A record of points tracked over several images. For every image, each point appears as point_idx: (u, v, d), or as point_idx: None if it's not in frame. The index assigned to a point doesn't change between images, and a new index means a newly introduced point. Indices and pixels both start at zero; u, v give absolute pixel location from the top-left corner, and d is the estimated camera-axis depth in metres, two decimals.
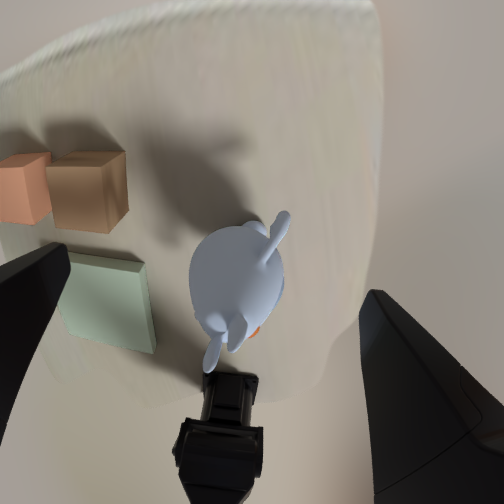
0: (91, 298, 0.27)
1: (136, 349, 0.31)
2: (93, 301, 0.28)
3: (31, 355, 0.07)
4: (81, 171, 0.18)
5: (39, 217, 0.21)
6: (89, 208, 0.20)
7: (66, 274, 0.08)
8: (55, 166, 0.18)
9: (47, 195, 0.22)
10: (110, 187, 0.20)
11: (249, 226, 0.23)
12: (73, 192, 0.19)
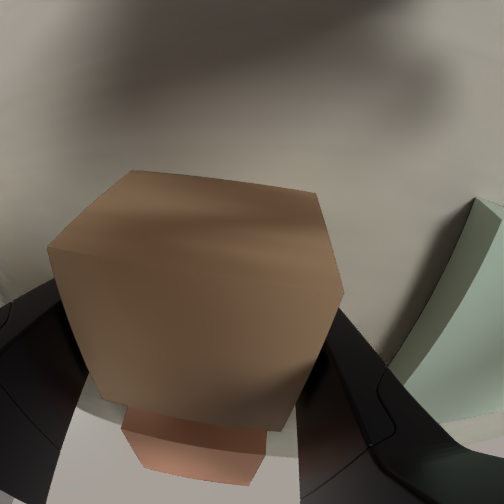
0: (491, 361, 0.09)
1: None
2: (499, 358, 0.09)
3: (86, 375, 0.07)
4: (80, 317, 0.05)
5: (259, 431, 0.10)
6: (214, 336, 0.05)
7: None
8: None
9: None
10: (160, 229, 0.05)
11: None
12: (156, 365, 0.06)
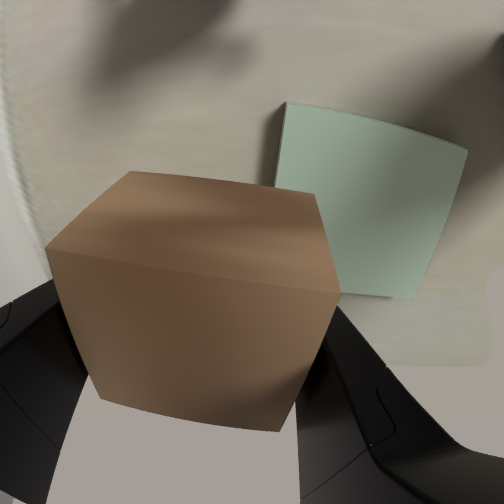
0: (344, 219, 0.17)
1: (457, 178, 0.15)
2: (350, 216, 0.17)
3: (86, 375, 0.07)
4: (78, 317, 0.05)
5: None
6: (211, 337, 0.05)
7: None
8: None
9: None
10: (157, 229, 0.05)
11: None
12: (154, 366, 0.06)
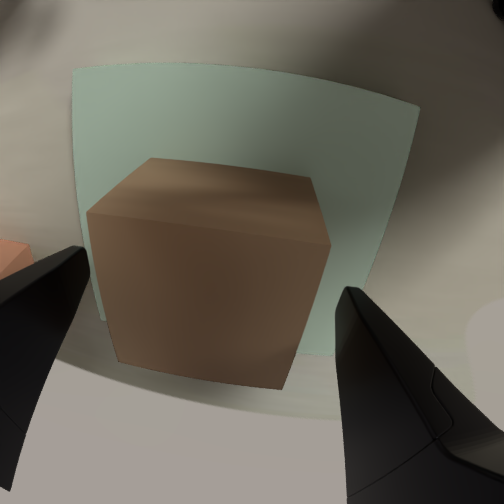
0: None
1: (399, 161, 0.09)
2: None
3: (51, 363, 0.07)
4: (108, 275, 0.07)
5: None
6: (226, 286, 0.07)
7: (86, 278, 0.08)
8: (113, 339, 0.08)
9: None
10: (181, 199, 0.07)
11: None
12: (173, 319, 0.07)
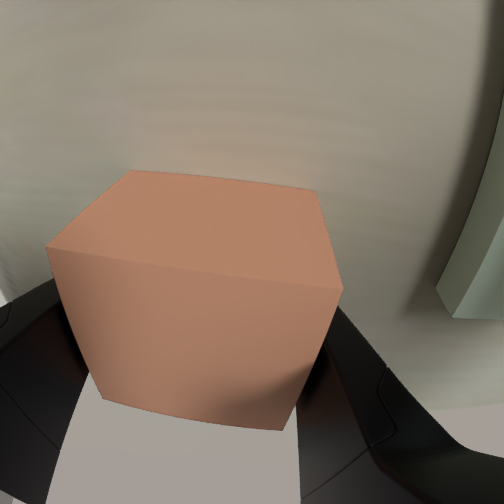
0: None
1: None
2: None
3: (86, 375, 0.07)
4: None
5: (321, 254, 0.05)
6: None
7: None
8: None
9: (254, 205, 0.07)
10: None
11: None
12: None
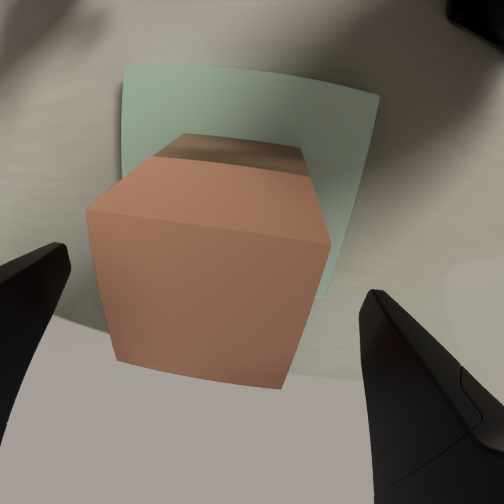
0: None
1: (366, 135, 0.12)
2: None
3: (31, 355, 0.07)
4: None
5: (314, 221, 0.07)
6: None
7: (66, 274, 0.08)
8: None
9: (259, 185, 0.08)
10: (213, 154, 0.10)
11: None
12: None
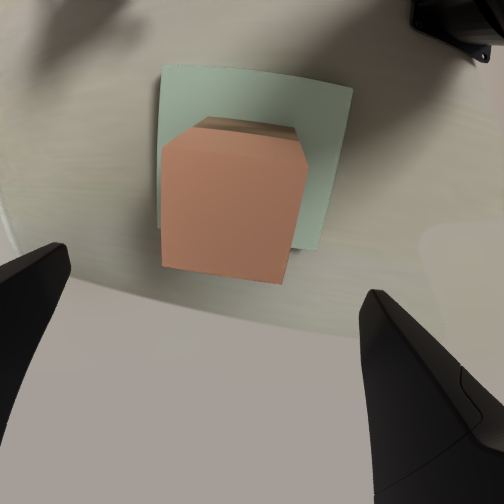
0: None
1: (343, 118, 0.16)
2: None
3: (31, 355, 0.07)
4: None
5: (299, 158, 0.11)
6: None
7: (66, 274, 0.08)
8: None
9: (265, 142, 0.12)
10: (233, 127, 0.14)
11: None
12: None
